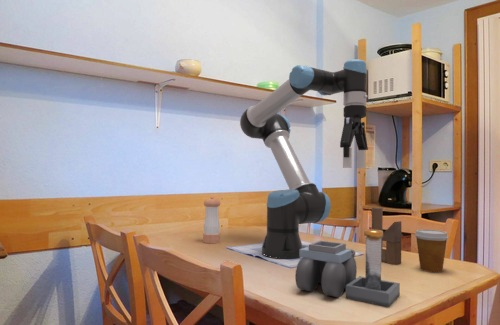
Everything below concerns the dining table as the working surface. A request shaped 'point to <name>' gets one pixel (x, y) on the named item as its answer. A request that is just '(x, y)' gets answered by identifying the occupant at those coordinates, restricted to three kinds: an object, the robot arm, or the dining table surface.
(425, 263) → the disposable coffee cup
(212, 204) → the salt shaker
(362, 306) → the dining table surface
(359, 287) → the tray
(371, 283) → the capped glass tube
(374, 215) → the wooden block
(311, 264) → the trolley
